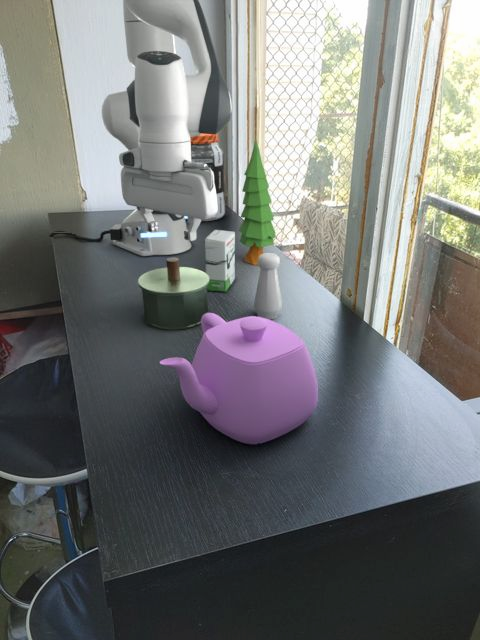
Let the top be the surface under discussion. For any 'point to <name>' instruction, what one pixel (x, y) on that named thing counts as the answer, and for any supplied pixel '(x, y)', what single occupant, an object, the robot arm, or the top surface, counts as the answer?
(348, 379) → the top surface
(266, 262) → the salt shaker
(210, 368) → the teapot
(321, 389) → the top surface
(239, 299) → the top surface
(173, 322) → the bowl
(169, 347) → the top surface
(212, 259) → the ink box
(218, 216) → the supplement tub
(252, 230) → the decorative tree
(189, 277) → the lid
